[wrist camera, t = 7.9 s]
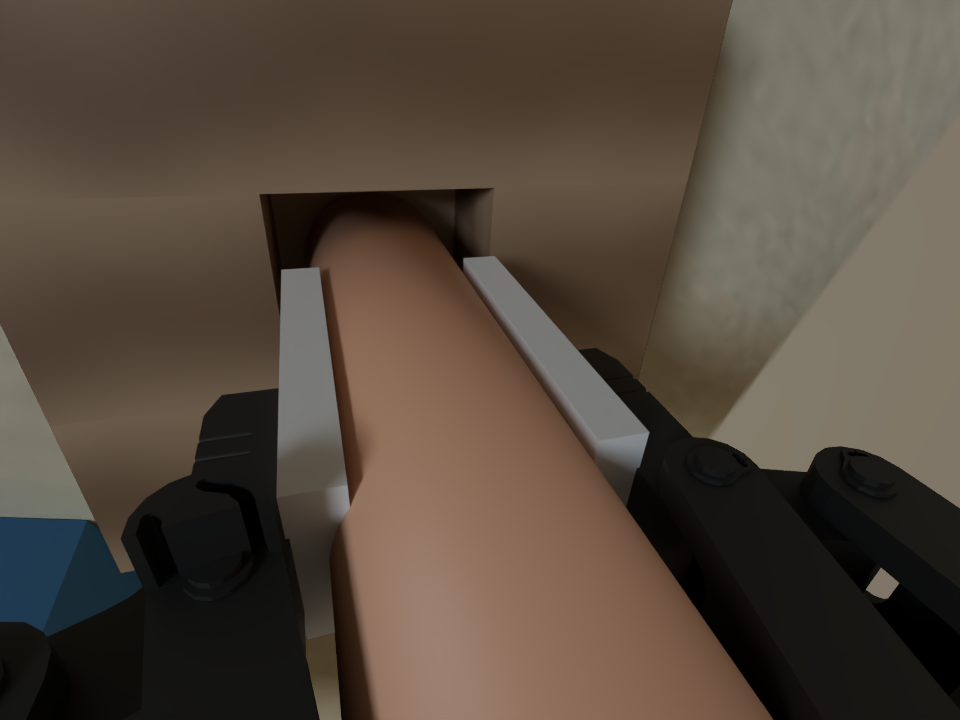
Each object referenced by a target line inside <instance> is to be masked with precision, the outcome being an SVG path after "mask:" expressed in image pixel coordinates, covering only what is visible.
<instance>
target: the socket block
mask: <svg viewBox="0 0 960 720" xmlns="http://www.w3.org/2000/svg"><path fill="white" fill-rule="evenodd" d="M732 1H733V0H0V324H1V326H2V328H3V330H4V332H5V335H6V337H7V339H8V341H9V343H10V345H11V347H12V349H13V351H14V353H15V355H16V357H17V359H18V361H19V363H20V366H21V368H22V370H23V372H24V374H25V376H26V378H27V380H28V382H29V384H30V386H31V388H32V390H33V392H34V394H35V396H36V399H37V401H38V403H39V405H40V407H41V409H42V411H43V413H44V415H45V417H46V419H47V421H48V423H49V425H50V427H51V430H52V432H53V434H54V436H55V438H56V440H57V442H58V444H59V446H60V448H61V450H62V452H63V454H64V456H65V458H66V461H67V463H68V465H69V467H70V469H71V471H72V473H73V475H74V477H75V479H76V481H77V483H78V485H79V487H80V489H81V492H82V494H83V496H84V498H85V500H86V502H87V504H88V506H89V508H90V510H91V512H92V514H93V516H94V518H95V520H96V523H97V525H98V527H99V529H100V531H101V533H102V535H103V537H104V539H105V541H106V543H107V545H108V547H109V549H110V551H111V554H112V556H113V558H114V560H115V562H116V564H117V566H118V568H119V570H120V572H121V573H124V572H129V571H134V567H133V565H132V563H131V561H130V559H129V556H128V554H127V552H126V550H125V548H124V546H123V543H122V541H121V536H122V533H123V530H124V528H125V525H126V522H127V520H128V517H129V516H130V515H131V514H132V513H133V512H134V511H135V510H136V508H137V507H138V506H139V505H140V504H141V503H142V502H143V501H144V500H145V498H147V497H148V496H150V495H151V494H153V493H154V492H156V491H158V490H159V489H161V488H162V487H164V486H165V485H167V484H168V483H170V482H173V481H175V480H178V479H181V478H183V477H186V476H189V475H191V473H192V469H193V464H194V463H195V454H196V450H197V445H198V443H199V435H200V431H201V426H202V421H203V416H204V415H205V414H206V413H207V411H208V410H209V409H210V408H211V407H212V406H213V404H214V403H215V402H216V401H217V400H218V399H219V397H220V396H221V395H226V394H234V393H242V392H251V391H259V390H267V389H275V388H279V357H280V311H281V270H284V269H300V268H307V264H306V244H307V240H308V236H309V233H310V231H311V228H312V226H313V225H314V223H315V221H316V220H317V218H318V217H319V216H320V215H321V213H322V212H323V211H324V210H325V209H326V208H327V207H329V206H330V205H331V204H333V203H334V202H336V201H338V200H340V199H341V198H343V197H346V196H349V195H351V194H355V193H360V192H382V193H388V194H391V195H394V196H397V197H399V198H401V199H404V200H405V201H407V202H408V203H410V204H411V205H413V206H414V207H415V208H416V209H417V210H418V211H419V212H420V213H421V214H422V215H423V216H424V218H425V219H426V220H427V222H428V223H429V225H430V226H431V228H432V229H433V230H434V232H435V233H436V235H437V236H438V238H439V239H440V241H441V242H442V243H443V245H444V246H445V248H446V249H447V251H448V252H449V254H450V255H451V256H452V258H453V259H454V261H455V262H456V264H457V265H458V266H459V268H460V269H461V271H462V272H463V261H464V258H472V257H488V256H495V257H496V258H497V259H498V260H499V261H500V262H501V264H502V265H503V266H504V267H505V268H506V269H507V270H508V272H509V273H510V274H511V275H512V276H513V277H514V278H515V280H516V281H517V282H518V283H519V284H520V285H521V286H522V288H523V289H524V290H525V291H526V292H527V293H528V294H529V296H530V297H531V298H532V299H533V300H534V301H535V302H536V303H537V305H538V306H539V307H540V308H541V309H542V310H543V311H544V313H545V314H546V315H547V316H548V317H549V318H550V319H551V321H552V322H553V323H554V324H555V325H556V326H557V327H558V329H559V330H560V331H561V332H562V333H563V334H564V335H565V337H566V338H567V339H568V340H569V341H570V342H571V343H572V345H573V346H574V347H575V348H576V349H577V350H581V349H590V348H597V349H599V350H601V351H603V352H604V353H606V354H608V355H610V356H612V357H613V358H615V359H617V360H619V361H620V363H621V364H622V365H623V366H624V367H625V368H626V369H627V370H628V371H629V372H630V373H631V374H632V375H633V378H634V379H637V380H638V377H639V373H640V369H641V365H642V361H643V357H644V353H645V349H646V345H647V341H648V337H649V333H650V329H651V325H652V321H653V317H654V313H655V309H656V305H657V301H658V297H659V293H660V289H661V285H662V281H663V277H664V273H665V269H666V265H667V261H668V257H669V253H670V249H671V245H672V241H673V237H674V233H675V229H676V225H677V221H678V217H679V213H680V209H681V205H682V201H683V197H684V193H685V189H686V185H687V181H688V177H689V173H690V169H691V165H692V161H693V157H694V153H695V149H696V145H697V141H698V137H699V133H700V129H701V125H702V121H703V117H704V113H705V109H706V105H707V101H708V97H709V93H710V89H711V85H712V81H713V77H714V73H715V69H716V65H717V61H718V57H719V53H720V49H721V45H722V41H723V37H724V33H725V29H726V25H727V21H728V17H729V13H730V9H731V5H732Z"/></svg>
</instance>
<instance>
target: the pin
mask: <svg viewBox="0 0 960 720" xmlns="http://www.w3.org/2000/svg"><path fill="white" fill-rule="evenodd" d="M306 264H307V268H316V267H319V271H320V279H321V286H322V294H323V302H324V309H325V317H326V324H327V332H328V340H329V347H330V355H331V363H332V370H333V378H334V386H335V393H336V401H337V409H338V416H339V424H340V432H341V439H342V447H343V454H344V462H345V470H346V477H347V485H348V494H349V503H350V509H349V510H348V511H347V513H346V514H345V516H344V517H343V519H342V521H341V523H340V525H339V527H338V529H337V531H336V534H335V537H334V540H333V542H332V546H331V553H330V576H331V589H332V602H333V615H334V628H335V641H336V654H337V667H338V680H339V693H340V706H341V719H342V720H773V718H772V717H771V716H770V714H769V713H768V711H767V710H766V708H765V707H764V705H763V704H762V703H761V701H760V700H759V698H758V697H757V695H756V694H755V693H754V691H753V690H752V688H751V687H750V685H749V684H748V682H747V681H746V680H745V678H744V677H743V675H742V674H741V672H740V671H739V669H738V668H737V667H736V665H735V664H734V662H733V661H732V659H731V658H730V657H729V655H728V654H727V652H726V651H725V649H724V648H723V646H722V645H721V644H720V642H719V641H718V639H717V638H716V636H715V635H714V633H713V632H712V631H711V629H710V628H709V626H708V625H707V623H706V622H705V621H704V619H703V618H702V616H701V615H700V613H699V612H698V610H697V609H696V608H695V606H694V605H693V603H692V602H691V600H690V599H689V598H688V596H687V595H686V593H685V592H684V590H683V589H682V587H681V586H680V585H679V583H678V582H677V580H676V579H675V577H674V576H673V574H672V573H671V572H670V570H669V569H668V567H667V566H666V564H665V563H664V562H663V560H662V559H661V557H660V556H659V554H658V553H657V551H656V550H655V549H654V547H653V546H652V544H651V543H650V541H649V540H648V538H647V537H646V536H645V534H644V533H643V531H642V530H641V528H640V527H639V526H638V524H637V523H636V521H635V520H634V518H633V517H632V515H631V514H630V513H629V511H628V510H627V508H626V507H625V505H624V504H623V503H622V501H621V500H620V498H619V497H618V495H617V494H616V492H615V491H614V490H613V488H612V487H611V485H610V484H609V482H608V481H607V479H606V478H605V477H604V475H603V474H602V472H601V471H600V469H599V468H598V467H597V465H596V464H595V462H594V461H593V459H592V458H591V456H590V455H589V454H588V452H587V451H586V449H585V448H584V446H583V445H582V443H581V442H580V441H579V439H578V438H577V436H576V435H575V433H574V432H573V431H572V429H571V428H570V426H569V425H568V423H567V422H566V420H565V419H564V418H563V416H562V415H561V413H560V412H559V410H558V409H557V408H556V406H555V405H554V403H553V402H552V400H551V399H550V397H549V396H548V395H547V393H546V392H545V390H544V389H543V387H542V386H541V384H540V383H539V382H538V380H537V379H536V377H535V376H534V374H533V373H532V372H531V370H530V369H529V367H528V366H527V364H526V363H525V361H524V360H523V359H522V357H521V356H520V354H519V353H518V351H517V350H516V348H515V347H514V346H513V344H512V343H511V341H510V340H509V338H508V337H507V336H506V334H505V333H504V331H503V330H502V328H501V327H500V325H499V324H498V323H497V321H496V320H495V318H494V317H493V315H492V314H491V313H490V311H489V310H488V308H487V307H486V305H485V304H484V302H483V301H482V300H481V298H480V297H479V295H478V294H477V292H476V291H475V289H474V288H473V287H472V285H471V284H470V282H469V281H468V279H467V278H466V277H465V275H464V274H463V272H462V271H461V269H460V268H459V266H458V265H457V264H456V262H455V261H454V259H453V258H452V256H451V255H450V254H449V252H448V251H447V249H446V248H445V246H444V245H443V243H442V242H441V241H440V239H439V238H438V236H437V235H436V233H435V232H434V230H433V229H432V228H431V226H430V225H429V223H428V222H427V220H426V219H425V218H424V216H423V215H422V214H421V213H420V212H419V211H418V210H417V209H416V208H415V207H414V206H413V205H411V204H410V203H408V202H407V201H405V200H404V199H401V198H399V197H397V196H394V195H391V194H388V193H382V192H360V193H355V194H351V195H349V196H346V197H343V198H341V199H340V200H338V201H336V202H334V203H333V204H331V205H330V206H329V207H327V208H326V209H325V210H324V211H323V212H322V213H321V215H320V216H319V217H318V218H317V220H316V221H315V223H314V225H313V226H312V228H311V231H310V233H309V236H308V240H307V244H306Z"/></svg>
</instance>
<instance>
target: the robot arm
mask: <svg viewBox="0 0 960 720" xmlns="http://www.w3.org/2000/svg"><path fill="white" fill-rule="evenodd" d="M463 274H464V275H465V277H466V278H467V279H468V281H469V282H470V284H471V285H472V287H473V288H474V289H475V291H476V292H477V294H478V295H479V297H480V298H481V300H482V301H483V302H484V304H485V305H486V307H487V308H488V310H489V311H490V313H491V314H492V315H493V317H494V318H495V320H496V321H497V323H498V324H499V325H500V327H501V328H502V330H503V331H504V333H505V334H506V336H507V337H508V338H509V340H510V341H511V343H512V344H513V346H514V347H515V348H516V350H517V351H518V353H519V354H520V356H521V357H522V359H523V360H524V361H525V363H526V364H527V366H528V367H529V369H530V370H531V372H532V373H533V374H534V376H535V377H536V379H537V380H538V382H539V383H540V384H541V386H542V387H543V389H544V390H545V392H546V393H547V395H548V396H549V397H550V399H551V400H552V402H553V403H554V405H555V406H556V408H557V409H558V410H559V412H560V413H561V415H562V416H563V418H564V419H565V420H566V422H567V423H568V425H569V426H570V428H571V429H572V431H573V432H574V433H575V435H576V436H577V438H578V439H579V441H580V442H581V443H582V445H583V446H584V448H585V449H586V451H587V452H588V454H589V455H590V456H591V458H592V459H593V461H594V462H595V464H596V465H597V467H598V468H599V469H600V471H601V472H602V474H603V475H604V477H605V478H606V479H607V481H608V482H609V484H610V485H611V487H612V488H613V490H614V491H615V492H616V494H617V495H618V497H619V498H620V500H621V501H622V503H623V504H624V505H625V507H626V508H627V510H628V511H629V513H630V514H631V515H632V517H633V518H634V520H635V521H636V523H637V524H638V526H639V527H640V528H641V530H642V531H643V533H644V534H645V536H646V537H647V538H648V540H649V541H650V543H651V544H652V546H653V547H654V549H655V550H656V551H657V553H658V554H659V556H660V557H661V559H662V560H663V562H664V563H665V564H666V566H667V567H668V569H669V570H670V572H671V573H672V574H673V576H674V577H675V579H676V580H677V582H678V583H679V585H680V586H681V587H682V589H683V590H684V592H685V593H686V595H687V596H688V598H689V599H690V600H691V602H692V603H693V605H694V606H695V608H696V609H697V610H698V612H699V613H700V615H701V616H702V618H703V619H704V621H705V622H706V623H707V625H708V626H709V628H710V629H711V631H712V632H713V633H714V635H715V636H716V638H717V639H718V641H719V642H720V644H721V645H722V646H723V648H724V649H725V651H726V652H727V654H728V655H729V657H730V658H731V659H732V661H733V662H734V664H735V665H736V667H737V668H738V669H739V671H740V672H741V674H742V675H743V677H744V678H745V680H746V681H747V682H748V684H749V685H750V687H751V688H752V690H753V691H754V693H755V694H756V695H757V697H758V698H759V700H760V701H761V703H762V704H763V705H764V707H765V708H766V710H767V711H768V713H769V714H770V716H771V717H772V718H773V720H960V508H958V507H957V506H955V505H954V504H952V503H951V502H949V501H948V500H947V499H945V498H944V497H942V496H941V495H939V494H937V493H936V492H935V491H933V490H932V489H930V488H929V487H927V486H926V485H924V484H923V483H921V482H920V481H918V480H917V479H915V478H914V477H912V476H911V475H909V474H908V473H906V472H905V471H903V470H902V469H901V468H899V467H897V466H895V465H894V464H892V463H890V462H888V461H886V460H885V459H883V458H881V457H879V456H876V455H873V454H871V453H868V452H866V451H863V450H859V449H853V448H847V447H841V446H840V447H829V448H825V449H823V450H821V451H820V452H818V453H817V454H816V455H815V457H814V459H813V461H812V463H811V465H810V467H809V469H808V471H807V472H797V471H783V470H770V469H760V468H759V467H758V466H757V465H756V464H755V463H754V462H753V461H752V460H751V459H750V458H748V457H747V456H746V455H745V454H744V453H742V452H740V451H739V450H737V449H735V448H733V447H731V446H729V445H728V444H725V443H721V442H718V441H715V440H712V439H708V438H695V437H692V436H691V435H690V434H689V432H688V431H687V430H686V429H685V428H684V427H683V426H682V425H681V424H680V423H679V422H678V421H677V420H676V419H675V418H674V417H673V416H672V415H671V414H670V413H669V412H668V411H667V410H666V409H665V408H664V407H663V406H662V405H661V404H660V403H659V402H658V401H657V400H656V399H655V398H654V396H653V395H652V394H651V393H650V392H646V388H645V387H644V386H643V385H642V384H641V383H640V382H639V381H638V380H637V379H634V378H633V375H632V374H631V373H630V372H629V371H628V370H627V369H626V368H625V367H624V366H623V365H622V364H621V363H620V361H619V360H617V359H615V358H613V357H612V356H610V355H608V354H606V353H604V352H603V351H601V350H599V349H597V348H590V349H581V350H577V349H576V348H575V347H574V346H573V345H572V343H571V342H570V341H569V340H568V339H567V338H566V337H565V335H564V334H563V333H562V332H561V331H560V330H559V329H558V327H557V326H556V325H555V324H554V323H553V322H552V321H551V319H550V318H549V317H548V316H547V315H546V314H545V313H544V311H543V310H542V309H541V308H540V307H539V306H538V305H537V303H536V302H535V301H534V300H533V299H532V298H531V297H530V296H529V294H528V293H527V292H526V291H525V290H524V289H523V288H522V286H521V285H520V284H519V283H518V282H517V281H516V280H515V278H514V277H513V276H512V275H511V274H510V273H509V272H508V270H507V269H506V268H505V267H504V266H503V265H502V264H501V262H500V261H499V260H498V259H497V258H496V257H495V256H488V257H472V258H464V261H463ZM349 509H350V503H349V494H348V485H347V477H346V470H345V462H344V454H343V447H342V439H341V432H340V424H339V416H338V409H337V401H336V393H335V386H334V378H333V370H332V363H331V355H330V347H329V340H328V332H327V324H326V317H325V309H324V302H323V294H322V286H321V279H320V271H319V267H316V268H300V269H284V270H281V311H280V357H279V388H275V389H267V390H259V391H251V392H242V393H234V394H226V395H221V396H220V397H219V399H218V400H217V401H216V402H215V403H214V404H213V406H212V407H211V408H210V409H209V410H208V411H207V413H206V414H205V415H204V416H203V421H202V426H201V431H200V435H199V443H198V445H197V450H196V454H195V463H194V464H193V469H192V473H191V475H189V476H186V477H183V478H181V479H178V480H175V481H173V482H170V483H168V484H167V485H165V486H164V487H162V488H161V489H159V490H158V491H156V492H154V493H153V494H151V495H150V496H148V497H147V498H145V500H144V501H143V502H142V503H141V504H140V505H139V506H138V507H137V508H136V510H135V511H134V512H133V513H132V514H131V515H130V516H129V517H128V520H127V522H126V525H125V528H124V530H123V533H122V536H121V541H122V543H123V546H124V548H125V550H126V552H127V554H128V556H129V559H130V561H131V563H132V565H133V567H134V570H135V572H136V574H137V576H138V578H139V580H140V583H141V585H142V588H141V589H139V590H138V591H137V592H135V593H134V594H133V595H131V596H130V597H129V598H127V599H125V600H123V601H121V602H120V603H118V604H116V605H114V606H112V607H110V608H108V609H107V610H105V611H102V612H100V613H98V614H96V615H94V616H91V617H89V618H87V619H85V620H83V621H80V622H78V623H76V624H74V625H72V626H70V627H67V628H65V629H63V630H61V631H59V632H56V633H54V634H52V635H50V636H48V637H47V636H46V635H45V633H44V632H43V631H41V630H39V629H37V628H35V627H34V626H32V625H30V624H28V623H26V622H0V720H320V719H319V715H318V710H317V705H316V701H315V696H314V691H313V687H312V682H311V677H310V673H309V668H308V664H307V659H306V643H305V633H306V638H307V640H309V639H313V638H317V637H321V636H325V635H329V634H333V633H335V628H334V615H333V602H332V589H331V576H330V553H331V546H332V542H333V540H334V537H335V534H336V531H337V529H338V527H339V525H340V523H341V521H342V519H343V517H344V516H345V514H346V513H347V511H348V510H349ZM880 568H882V569H884V570H885V571H886V572H887V573H888V574H890V575H891V576H892V577H893V578H894V579H895V580H897V581H898V582H899V585H898V586H897V587H896V589H895V590H894V591H893V593H892V594H891V595H890V597H889V598H888V599H882V598H879V597H877V596H874V595H872V594H871V593H870V592H868V591H867V590H866V588H867V587H868V585H869V584H870V582H871V581H872V580H873V578H874V577H875V575H876V574H877V572H878V571H879V570H880Z"/></svg>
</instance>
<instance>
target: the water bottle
mask: <svg viewBox="0 0 960 720" xmlns="http://www.w3.org/2000/svg"><path fill="white" fill-rule="evenodd" d="M141 588H142V585H141V583H140V580H139V578H138V576H137V574H136V572H135V570H134V571H129V572H124V573H121V572H120V570H119V568H118V566H117V564H116V562H115V560H114V558H113V556H112V554H111V551H110V549H109V547H108V545H107V543H106V541H105V539H104V537H103V535H102V533H101V531H100V529H99V528H98V527H97V526H95V525H94V524H92V523H90V522H89V521H87V520H63V519H32V518H1V517H0V622H26V623H28V624H30V625H32V626H34V627H35V628H37V629H39V630H41V631H43V632H44V633H45V635H46V636H47V637H48V636H50V635H52V634H54V633H56V632H59V631H61V630H63V629H65V628H67V627H70V626H72V625H74V624H76V623H78V622H80V621H83V620H85V619H87V618H89V617H91V616H94V615H96V614H98V613H100V612H102V611H105V610H107V609H108V608H110V607H112V606H114V605H116V604H118V603H120V602H121V601H123V600H125V599H127V598H129V597H130V596H131V595H133V594H134V593H135V592H137V591H138V590H139V589H141Z"/></svg>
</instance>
